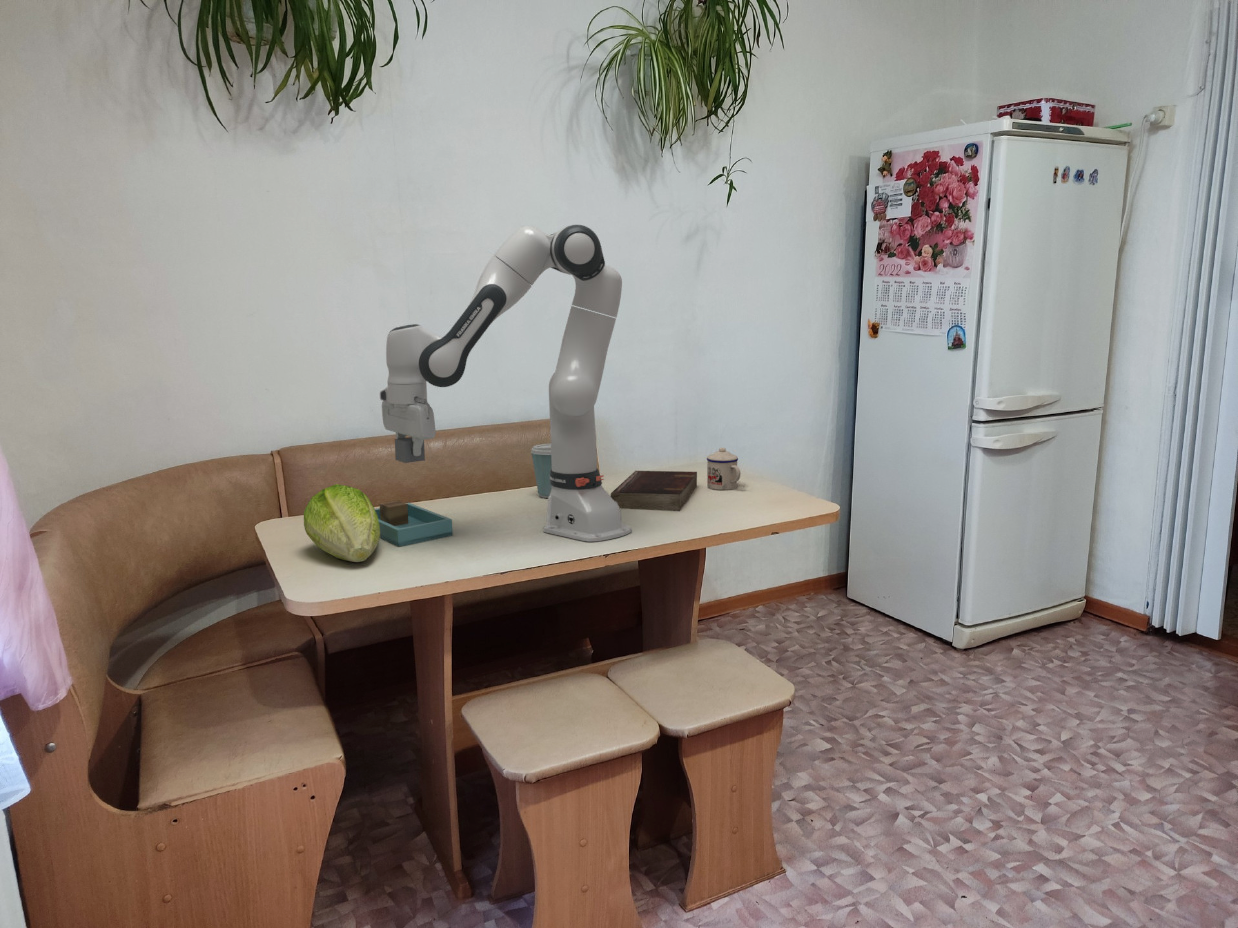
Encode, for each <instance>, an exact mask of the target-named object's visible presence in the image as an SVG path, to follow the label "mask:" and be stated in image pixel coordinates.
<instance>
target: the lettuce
mask: <svg viewBox="0 0 1238 928" xmlns="http://www.w3.org/2000/svg"><path fill="white" fill-rule="evenodd" d="M375 509H376V508H374V506H373V504H372V501H371V500H370V499H369V497H368V495H366V494H365V493H364V492H363V491H361V490H360V489H358V488H355V487H352V486H348V485H344V484H338V483H336V484H333V485H330V486H328V487H325V488H323V489H321V490H320V491H318V492H317V493H316V494H314V495H313V496H312V497H311V498H310V499H309V501H308V503H307V505H305V508H304V511H303V526H304V530H305V532H306V535H307V536H308V538H309V539H310V540H311V541H312V543H313V544H314V545H315V546H317V547H318V548H320V549H321V550H322V551H324V552H326V553H328V554H329V555H331V556H333V557H335V558H337V559H338V560H342V561H348V562H353V563H354V562H355V563H360V562H365V561H366V560H367V558H369V557H370V556H371V555H372V553H373V552H374V551H375V550H376V548H377V546H378V544H379V541H380V539H381V538H380V525H379V521H378V516H377V514H376V511H375Z"/></svg>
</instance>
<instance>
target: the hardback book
mask: <svg viewBox="0 0 1238 928" xmlns="http://www.w3.org/2000/svg"><path fill="white" fill-rule="evenodd" d="M697 487H698V471H682V470H681V471H679V470H677V471H673V470H671V471H670V470H668V471H666V470H635V471H633V472H632V473H631V474H630V475H629V476H628V477H627V478H626V479H624V481H622V483H620V484H619V485H618V486H617V487H616V488H615V489H614V490H613V491H611V492H610V497H611V498H612V499H613V500H614V501H616V502H617V503H618V506H619V508H620V510H621V509H622V510H623V509H624V510H643V511H646V510H647V511H663V512H664V511H665V512H668V511H669V512H680V511H681V510H682V509H683V508H684V507H685V505H686V503H687V501H688V500H689V499H690V497H691V496H692V494H693V493H694V492H695V490H696V489H697Z"/></svg>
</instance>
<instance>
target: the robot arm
mask: <svg viewBox="0 0 1238 928" xmlns="http://www.w3.org/2000/svg"><path fill="white" fill-rule="evenodd" d="M550 268H551V269H552V270H555V271H558V272H560V273H563V274H565V275H569V276H572V277H573V279H574V283H575V289H574V296H573V299H572V302H571V305H570V309H569V313H568V317H567V321H566V325H565V329H564V332H563V336H562V339H561V345H560V350H559V353H558V358H557V363H556V366H555V371H554V372H553V374H552V375H551V377H550V380H549V382H548V383H549V384H548V403H549V404H548V406H549V428H550V429H549V430H550V443H551V461H552V469H551V470H550V484H551V485H552V489H551V492H550V495H549V497H548V498H547V508H546V524H545V525H544V526H543V527H542V528H543V530H542V531H543V533H547V534H551V535H556V536H560V537H564V538H569V539H573V540H577V541H583V542H602V541H607V540H612V539H616V538H620V537H624V536H626V535H628V534H630V533H632V527H631V526H630V525H628V524H625V523H623V522H622V513H621V508H619V506H618V503H617V502H616V501H614V500H613V499H612V498H611V497H610V496H611V494H609V493H608V491H606V489H605V488H604V487H603V481H604V480H605V478H604V477H605V475H604V474H602V475H601V473H600V470H599V469H598V467H597V466H598V465H597V464H598V462H597V454H598V453H597V452H598V451H597V431H596V417H595V404H596V403H597V401H598V400H597V399H598V396H599V390H600V387H601V382H602V378H603V374H604V370H605V364H606V359H607V355H608V350H609V346H610V343H611V339H612V337H613V336H612V335H613V332H614V329H615V325H616V320H617V317H618V313H619V308H620V303H621V297H622V291H623V289H622V288H623V278H622V276H621V274H620V273H619V272H618V270H617V269H615V268H613V267H611V266H610V265H606V261H605V256H604V254H603V248H602V245H601V240H600V239H599V237H598V235H597V234H596V233H595V231H593V229H592V228H590V227H588V226H586V225H582V224H572V225H568V226H565V227H563V228H560V229H559V230H558V231H557V232H554V233H552V234H546V233H545V232H544V231H542V230H541V229H539V228H538V227H535V226H531V225H524V226H521V227H520V228H518V229H517V230H516V231H515V232H514V233H512V234H511V235H510V236H509V237H508V238H507V239H506V240H505V241H504V242H503V243H502V244H501V246H500V247H499V248H498V249H497V250H496V252H495V253H494V254H493V256H492V257H491V258H490V259H489V261H488V263H486V265H485V266H484V269H483V272H482V273H481V275H480V276H479V279H478V281H477V285H476V287H475V290H474V293H473V296H472V299H471V301H470V302H469V304H468V305H467V307H466V309H465V310H463V311H464V312H463V313H462V314H461V315H460V316H459V318H458V319H457V321H455V323H454V325H452V327H451V328H450V330H448V332H447V333H446V334H445V335H444V336H441V335H437V334H435V333H433V332H431V331H429V330H428V329H426V328H424V327H423V326H422V325H420V324H417V323H412V324H408V325H407V324H406V325H400V326H398V327H397V326H396V327H394V328H393V329H391V330H390V331H389V332H388V334H387V337H386V348H385V349H386V350H385V351H386V352H385V355H386V366H387V367H386V368H387V369H388V377H387V383H386V384H387V387H386V388H384V389H382V390H381V391H379V399H380V401H382V402H381V414H382V415H381V416H382V422H383V423H382V424H383V426H384V429H385V430H387V431H390V432H392V433H393V432H394V433H395V437H396V438H395V439H399V438H407V437H412V441H413V442H414V443H413V448H411V451H412V452H411V454H412V455H414V456H420V455H421V447H422V444H423V440H424V441H426V440H431V439H432V440H433V439H435V437H436V434H437V432H436V430H437V429H436V422H435V415H434V410H433V408H432V406H431V405H430V403H429V402H428V392H427V391H428V389H427V388H428V387H427V383H429V385H431V386H434V387H437V388H448V387H452V386H453V385H455V384H457V383H458V382H459V381H460V380H461V379H462V377H463V376H464V373H465V370H466V366H467V361H468V358H469V355H470V353H471V352H472V350H473V349H474V347H475V345H476V344H477V343H478V342H479V340H480V339H481V338H482V337H483V336H484V333H485V332H486V331H487V329H488V328H489V327H490V326H491V325H492V324H493V322H494V321H495V320H497V319H498V318H499V317H500V316H501V315H503V314H504V313H505V312H507V311H508V310H509V309H511V308H512V307H513V306H515V305H516V304H517V303H518V302H520V300H521V299H522V298H523V297H524V296H525V295H526V294H527V293H528V292H529V290H530V289H531V288H532V286H534V283H535V282H536V281H537V280H538V278H539V277H540V276H541V275H542V274H543V273H544V272H545V271H546V270H548V269H550Z"/></svg>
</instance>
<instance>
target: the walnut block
mask: <svg viewBox="0 0 1238 928" xmlns="http://www.w3.org/2000/svg"><path fill="white" fill-rule="evenodd" d="M378 505H379V508H380V519H381V520H382V521H384V522H386V523H388V524H391V525H393V526H398V525H403V524H408V508H407V504H406V502H404V501H402V500H398V499H397V500H393V501H387V502H381V503H379V504H378Z"/></svg>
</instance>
